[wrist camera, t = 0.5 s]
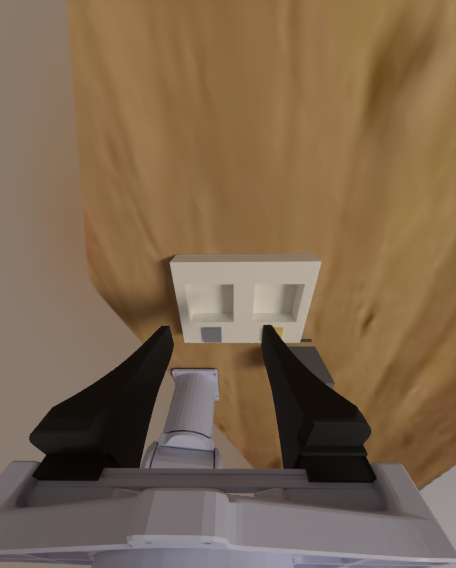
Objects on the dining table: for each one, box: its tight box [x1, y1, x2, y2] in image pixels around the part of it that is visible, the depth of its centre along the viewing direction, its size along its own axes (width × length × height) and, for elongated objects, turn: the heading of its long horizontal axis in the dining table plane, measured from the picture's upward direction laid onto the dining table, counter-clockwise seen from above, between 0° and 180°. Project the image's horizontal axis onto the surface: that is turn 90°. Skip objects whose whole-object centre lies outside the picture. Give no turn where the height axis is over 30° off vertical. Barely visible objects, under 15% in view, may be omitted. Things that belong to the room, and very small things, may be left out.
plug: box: [285, 339, 335, 389], centre depth 25 cm, size 4×4×7 cm
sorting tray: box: [170, 254, 322, 343], centre depth 22 cm, size 12×16×3 cm
